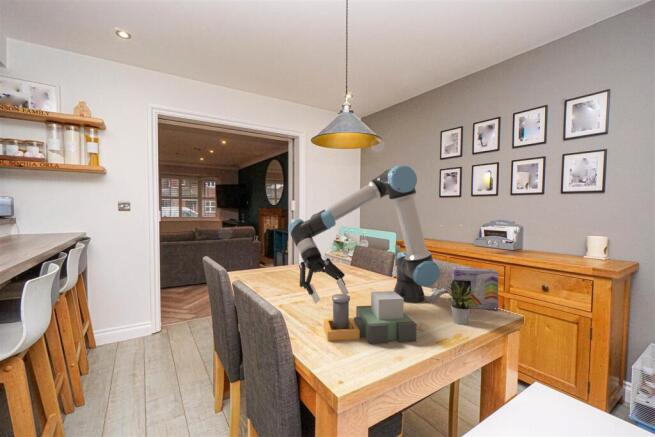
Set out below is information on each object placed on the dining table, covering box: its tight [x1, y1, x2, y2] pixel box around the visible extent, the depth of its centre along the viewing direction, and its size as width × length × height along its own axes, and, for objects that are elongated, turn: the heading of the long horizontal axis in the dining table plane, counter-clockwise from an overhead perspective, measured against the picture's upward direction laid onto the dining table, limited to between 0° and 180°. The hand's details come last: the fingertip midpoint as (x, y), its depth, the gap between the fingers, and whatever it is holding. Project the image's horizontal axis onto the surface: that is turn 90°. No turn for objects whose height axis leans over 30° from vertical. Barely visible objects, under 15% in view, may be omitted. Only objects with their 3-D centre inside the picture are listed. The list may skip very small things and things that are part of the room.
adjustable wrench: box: [426, 287, 446, 304], centre depth 145 cm, size 25×6×2 cm, turn 143°
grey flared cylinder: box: [331, 293, 351, 330], centre depth 100 cm, size 6×6×13 cm
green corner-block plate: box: [323, 290, 417, 345], centre depth 102 cm, size 30×19×13 cm, turn 98°
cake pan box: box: [450, 266, 499, 311], centre depth 128 cm, size 19×5×18 cm, turn 72°
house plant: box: [444, 281, 479, 326], centre depth 111 cm, size 14×14×16 cm
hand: (332, 297), depth 103 cm, fingers open, 13 cm apart
